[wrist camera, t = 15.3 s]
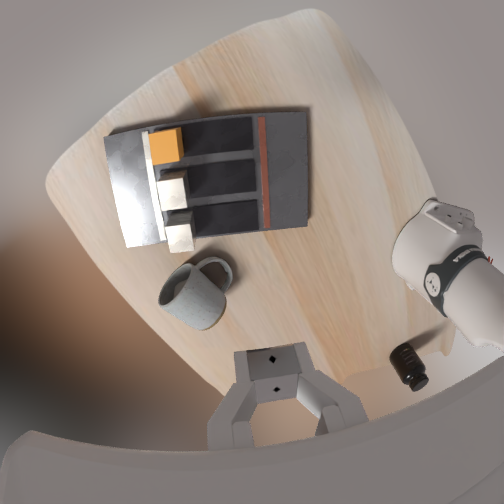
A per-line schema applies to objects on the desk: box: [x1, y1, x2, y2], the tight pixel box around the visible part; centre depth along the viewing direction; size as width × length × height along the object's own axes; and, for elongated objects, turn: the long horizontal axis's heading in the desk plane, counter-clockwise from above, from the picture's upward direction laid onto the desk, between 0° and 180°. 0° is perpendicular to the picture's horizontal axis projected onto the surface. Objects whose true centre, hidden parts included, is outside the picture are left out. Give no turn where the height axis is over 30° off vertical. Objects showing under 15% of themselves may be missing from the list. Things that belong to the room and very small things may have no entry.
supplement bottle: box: [390, 344, 429, 392], centre depth 56 cm, size 7×7×12 cm
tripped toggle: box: [148, 127, 184, 165], centre depth 29 cm, size 3×4×4 cm
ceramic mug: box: [158, 257, 233, 330], centre depth 40 cm, size 11×8×8 cm
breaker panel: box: [104, 112, 308, 253], centre depth 33 cm, size 26×16×6 cm, turn 94°
